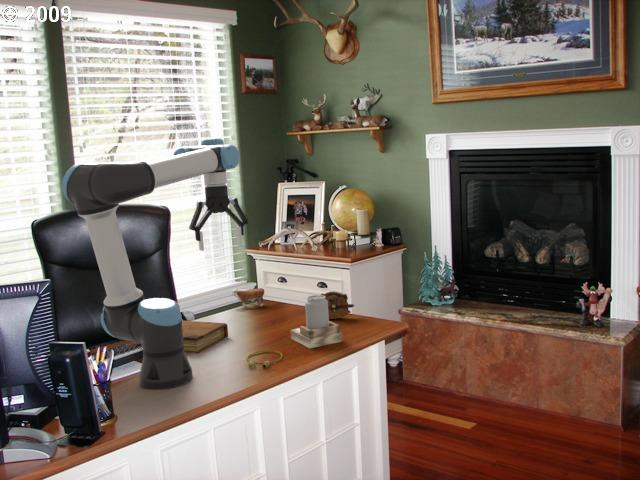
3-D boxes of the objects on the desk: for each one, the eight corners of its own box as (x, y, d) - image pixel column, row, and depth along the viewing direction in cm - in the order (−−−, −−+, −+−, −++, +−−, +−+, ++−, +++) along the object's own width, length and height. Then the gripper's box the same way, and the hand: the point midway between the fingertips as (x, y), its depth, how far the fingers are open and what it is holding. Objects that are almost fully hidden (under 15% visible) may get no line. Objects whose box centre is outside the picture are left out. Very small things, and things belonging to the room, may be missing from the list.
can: (302, 332, 242) (299, 297, 240) (319, 327, 247) (316, 293, 245) (317, 336, 236) (315, 300, 235) (334, 331, 241) (332, 295, 240)
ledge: (309, 348, 235) (308, 331, 234) (291, 338, 247) (290, 322, 246) (342, 341, 240) (341, 325, 239) (322, 332, 252) (321, 316, 252)
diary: (228, 338, 254) (227, 322, 253) (198, 355, 237) (196, 338, 236) (173, 334, 263) (172, 318, 262) (140, 349, 247) (139, 333, 246)
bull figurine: (231, 307, 295) (230, 287, 294) (265, 304, 298) (263, 284, 296) (232, 310, 291) (230, 290, 290) (266, 306, 293) (264, 286, 292)
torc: (231, 367, 222) (230, 361, 222) (261, 352, 236) (260, 346, 235) (263, 372, 216) (263, 365, 216) (293, 356, 229) (292, 350, 229)
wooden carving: (310, 321, 268) (308, 294, 266) (311, 317, 272) (309, 291, 270) (355, 319, 266) (353, 293, 264) (355, 316, 270) (354, 290, 268)
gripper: (246, 181, 254) (251, 242, 257) (176, 187, 243) (181, 251, 246) (254, 182, 247) (259, 244, 250) (183, 188, 236) (188, 253, 239)
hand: (220, 247), depth 248 cm, fingers open, 13 cm apart
